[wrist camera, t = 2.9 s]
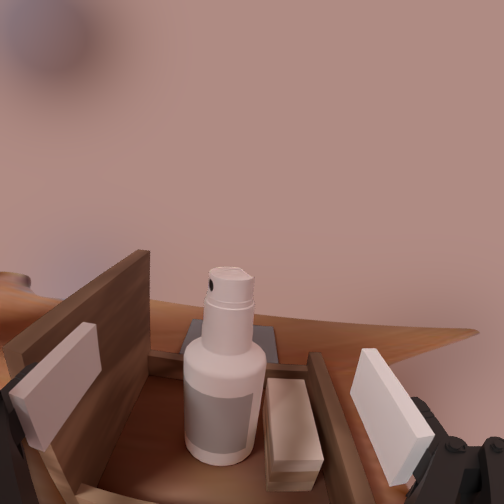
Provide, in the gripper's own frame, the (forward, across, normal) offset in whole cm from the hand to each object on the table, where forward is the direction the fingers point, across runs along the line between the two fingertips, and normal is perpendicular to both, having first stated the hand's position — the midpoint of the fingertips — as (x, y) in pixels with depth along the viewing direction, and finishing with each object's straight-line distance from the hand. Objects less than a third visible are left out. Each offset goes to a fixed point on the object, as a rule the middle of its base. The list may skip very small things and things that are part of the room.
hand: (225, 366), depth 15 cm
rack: (+10, 0, -16) cm, 19 cm away
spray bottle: (+10, 0, -16) cm, 19 cm away
